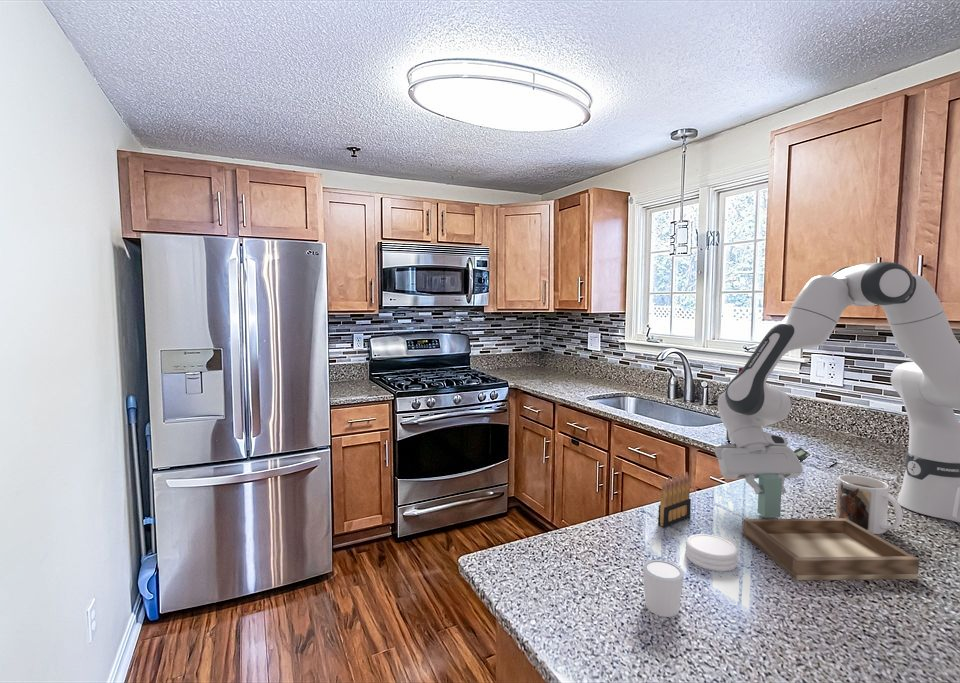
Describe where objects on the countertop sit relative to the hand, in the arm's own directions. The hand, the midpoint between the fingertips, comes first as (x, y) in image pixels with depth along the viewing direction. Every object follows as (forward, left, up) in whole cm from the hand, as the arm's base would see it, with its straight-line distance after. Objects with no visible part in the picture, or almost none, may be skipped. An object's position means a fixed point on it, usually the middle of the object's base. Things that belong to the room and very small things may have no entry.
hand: (771, 493), depth 121 cm
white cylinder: (+42, +35, -7) cm, 55 cm away
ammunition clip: (+25, +1, -7) cm, 26 cm away
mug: (-20, +5, -7) cm, 22 cm away
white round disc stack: (+25, +19, -7) cm, 33 cm away
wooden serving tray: (0, +18, -6) cm, 20 cm away
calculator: (-44, -45, -7) cm, 63 cm away
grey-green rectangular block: (0, -1, -6) cm, 6 cm away
